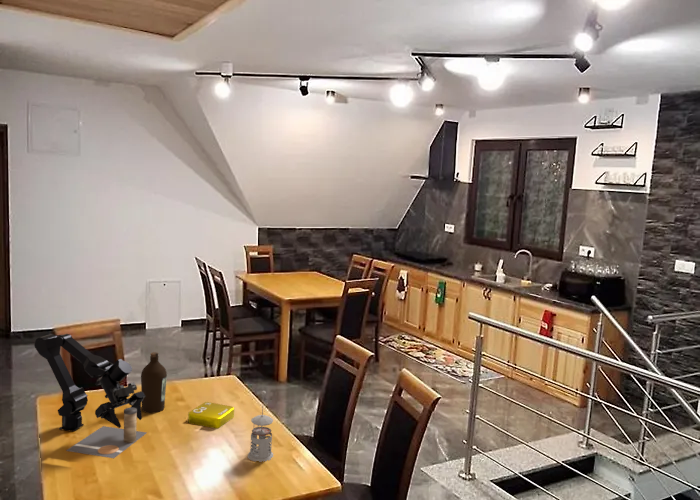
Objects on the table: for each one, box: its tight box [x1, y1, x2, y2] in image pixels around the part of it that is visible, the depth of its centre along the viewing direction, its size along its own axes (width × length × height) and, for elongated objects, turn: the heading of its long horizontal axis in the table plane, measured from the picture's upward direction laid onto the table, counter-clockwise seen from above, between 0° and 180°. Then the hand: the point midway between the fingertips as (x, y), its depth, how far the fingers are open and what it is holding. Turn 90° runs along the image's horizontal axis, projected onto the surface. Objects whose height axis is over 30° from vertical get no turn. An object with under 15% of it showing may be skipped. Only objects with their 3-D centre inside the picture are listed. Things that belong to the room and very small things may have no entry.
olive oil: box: [140, 351, 168, 414], centre depth 248 cm, size 11×11×25 cm
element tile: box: [187, 401, 235, 429], centre depth 242 cm, size 15×15×5 cm
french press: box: [247, 390, 274, 463], centre depth 212 cm, size 10×12×25 cm
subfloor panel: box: [65, 425, 147, 459], centre depth 213 cm, size 19×22×2 cm
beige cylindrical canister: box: [123, 406, 138, 443], centre depth 214 cm, size 5×5×12 cm
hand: (130, 423), depth 214 cm, fingers open, 9 cm apart
